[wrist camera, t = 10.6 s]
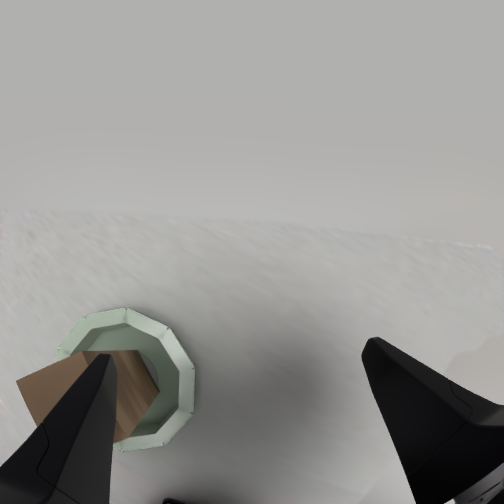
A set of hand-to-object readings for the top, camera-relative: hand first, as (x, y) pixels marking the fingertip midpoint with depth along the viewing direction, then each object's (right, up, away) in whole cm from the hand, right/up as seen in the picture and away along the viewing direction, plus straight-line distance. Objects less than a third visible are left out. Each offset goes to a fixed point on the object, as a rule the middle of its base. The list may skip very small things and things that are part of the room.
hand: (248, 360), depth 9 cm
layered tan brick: (-9, -6, +10) cm, 14 cm away
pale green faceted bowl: (-9, -6, +11) cm, 15 cm away
